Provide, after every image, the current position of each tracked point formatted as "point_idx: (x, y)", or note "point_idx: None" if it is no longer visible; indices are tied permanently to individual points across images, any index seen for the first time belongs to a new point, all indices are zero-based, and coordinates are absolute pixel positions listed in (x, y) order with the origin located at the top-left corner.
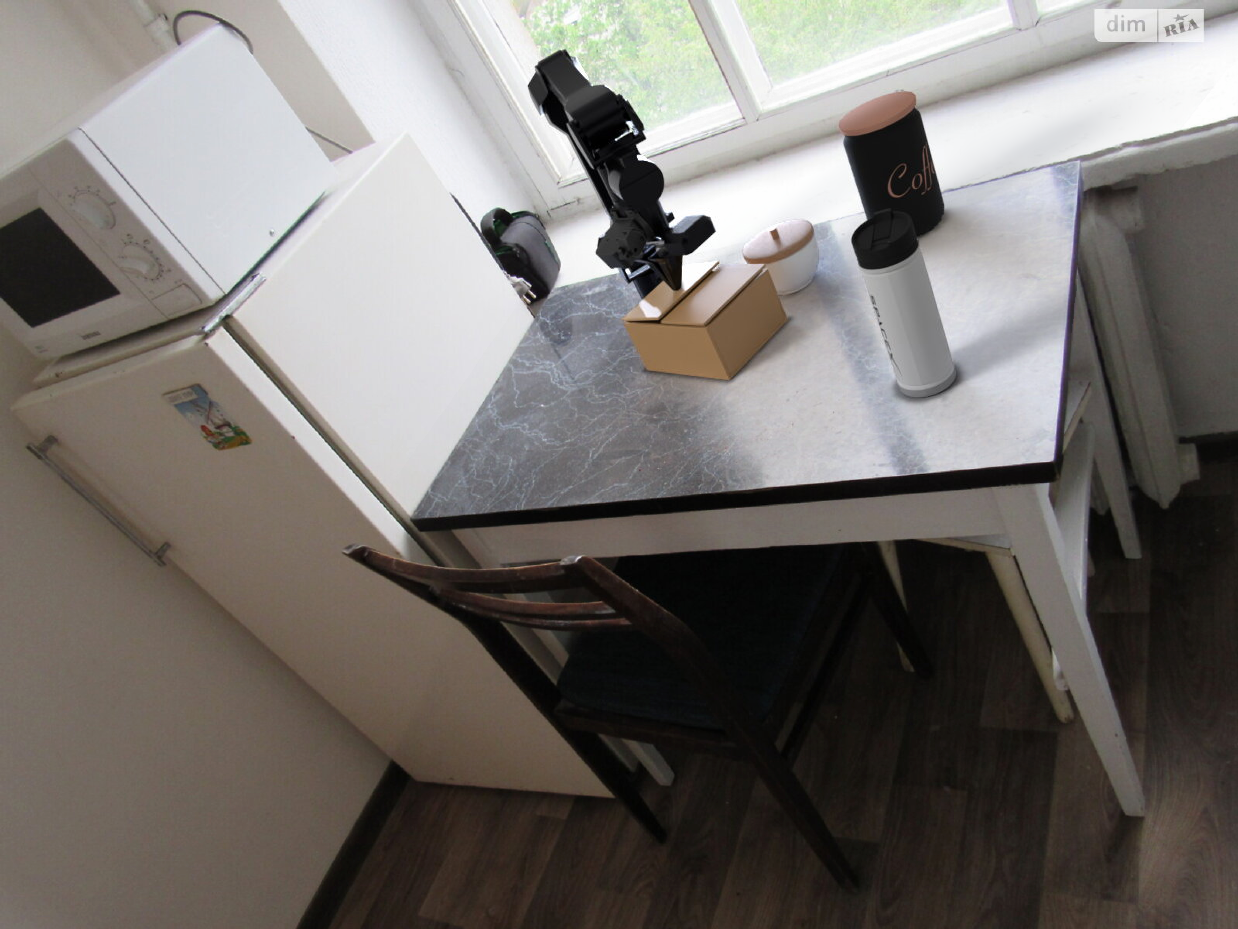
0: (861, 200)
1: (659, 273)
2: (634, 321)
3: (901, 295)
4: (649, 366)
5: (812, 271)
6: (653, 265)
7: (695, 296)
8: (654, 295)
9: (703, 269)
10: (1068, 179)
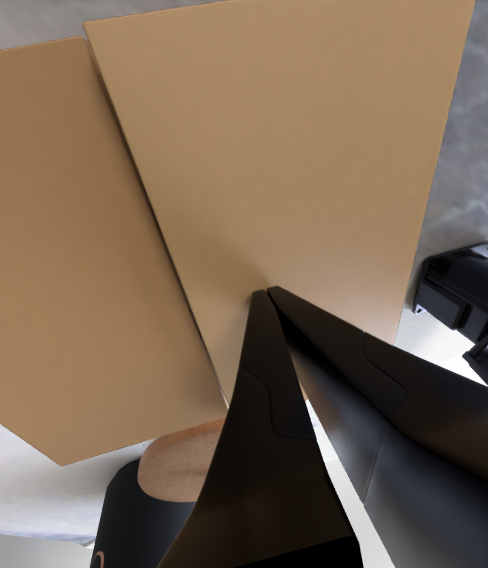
0: (172, 523)
1: (338, 342)
2: None
3: None
4: None
5: None
6: (398, 401)
7: (129, 300)
8: (374, 233)
9: None
10: (56, 538)
